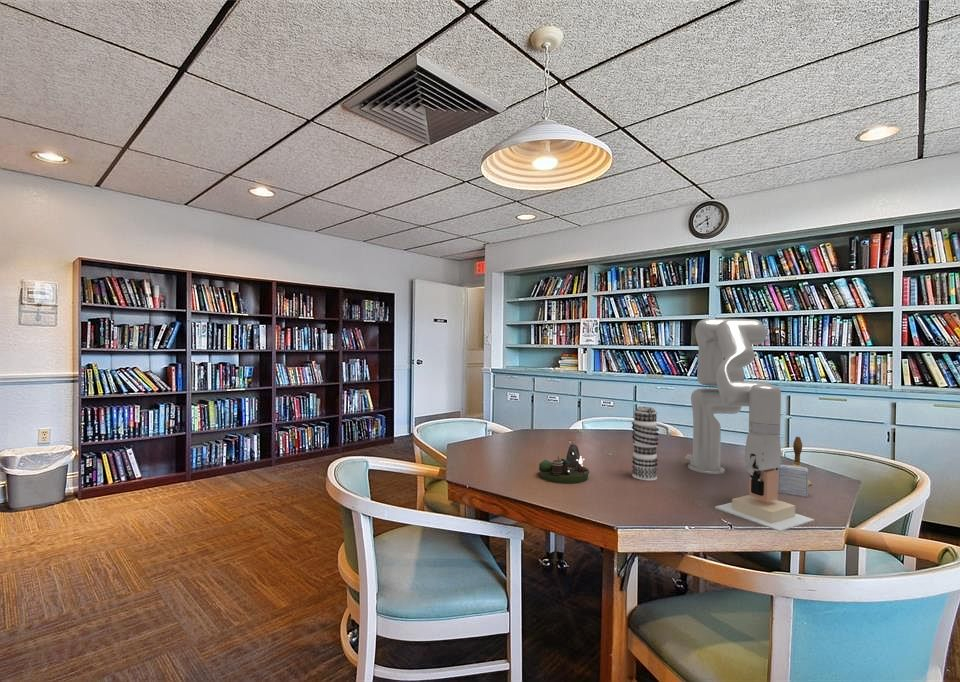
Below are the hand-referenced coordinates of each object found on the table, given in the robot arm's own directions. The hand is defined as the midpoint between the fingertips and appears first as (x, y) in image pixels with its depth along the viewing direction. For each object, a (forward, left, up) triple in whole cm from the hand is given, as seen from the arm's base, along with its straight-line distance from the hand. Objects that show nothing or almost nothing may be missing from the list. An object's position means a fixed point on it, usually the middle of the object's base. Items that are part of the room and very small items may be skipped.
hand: (763, 492), depth 126 cm
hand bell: (-13, +42, -7) cm, 45 cm away
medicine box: (-7, +28, -7) cm, 30 cm away
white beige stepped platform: (0, 0, -7) cm, 7 cm away
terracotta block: (0, 0, -1) cm, 1 cm away
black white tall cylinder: (-41, -2, -7) cm, 41 cm away
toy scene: (-54, -28, -7) cm, 61 cm away
